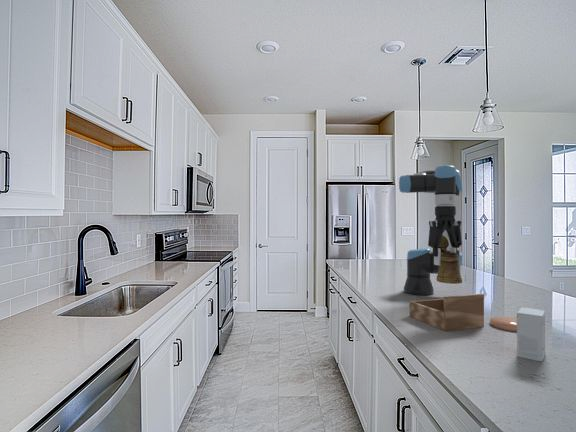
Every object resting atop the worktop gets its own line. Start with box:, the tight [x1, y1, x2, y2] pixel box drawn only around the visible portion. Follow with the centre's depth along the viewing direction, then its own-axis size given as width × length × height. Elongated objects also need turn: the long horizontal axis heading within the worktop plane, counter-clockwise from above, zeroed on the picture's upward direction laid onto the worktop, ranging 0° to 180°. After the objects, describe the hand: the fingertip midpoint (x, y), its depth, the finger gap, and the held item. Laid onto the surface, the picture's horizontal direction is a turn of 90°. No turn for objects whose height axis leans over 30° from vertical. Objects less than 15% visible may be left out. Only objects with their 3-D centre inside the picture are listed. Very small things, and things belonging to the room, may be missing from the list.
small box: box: [516, 306, 546, 362], centre depth 107 cm, size 8×6×13 cm
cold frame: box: [409, 293, 485, 332], centre depth 142 cm, size 20×17×12 cm
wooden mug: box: [436, 235, 463, 285], centre depth 142 cm, size 9×14×18 cm, turn 3°
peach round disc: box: [489, 316, 517, 333], centre depth 136 cm, size 14×14×2 cm
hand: (445, 264), depth 142 cm, fingers closed on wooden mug, 7 cm apart
